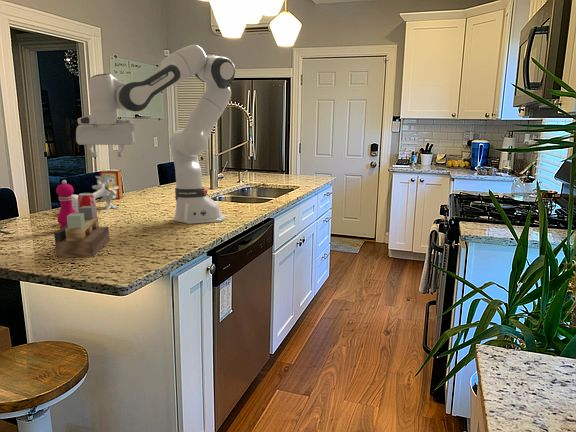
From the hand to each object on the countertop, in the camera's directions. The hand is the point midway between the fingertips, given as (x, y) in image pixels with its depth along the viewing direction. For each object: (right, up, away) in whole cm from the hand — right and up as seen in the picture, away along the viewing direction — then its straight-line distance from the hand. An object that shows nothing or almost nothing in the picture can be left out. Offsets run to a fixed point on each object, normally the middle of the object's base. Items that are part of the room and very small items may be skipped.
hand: (107, 157), depth 164 cm
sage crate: (0, -26, -24) cm, 35 cm away
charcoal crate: (-2, -23, -11) cm, 26 cm away
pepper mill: (-19, -28, +9) cm, 35 cm away
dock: (-1, -33, -16) cm, 37 cm away
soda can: (-18, -25, +24) cm, 39 cm away
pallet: (-1, -28, -17) cm, 33 cm away
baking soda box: (-30, -13, +79) cm, 85 cm away
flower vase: (-25, -20, +46) cm, 56 cm away
